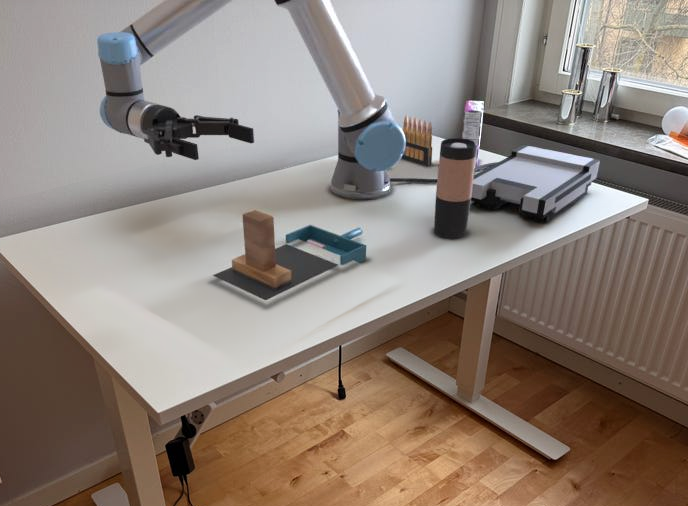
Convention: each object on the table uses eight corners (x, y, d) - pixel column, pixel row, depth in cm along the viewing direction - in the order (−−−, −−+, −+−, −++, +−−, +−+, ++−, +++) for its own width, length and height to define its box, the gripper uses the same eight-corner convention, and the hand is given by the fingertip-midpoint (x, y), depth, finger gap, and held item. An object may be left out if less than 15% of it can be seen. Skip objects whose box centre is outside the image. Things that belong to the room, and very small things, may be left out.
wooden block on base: (249, 263, 140) (245, 204, 134) (291, 282, 134) (289, 220, 127) (232, 271, 138) (227, 210, 131) (274, 290, 131) (271, 227, 124)
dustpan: (342, 271, 141) (342, 256, 139) (286, 249, 150) (285, 234, 148) (389, 248, 151) (390, 233, 149) (334, 228, 159) (334, 214, 158)
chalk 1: (305, 241, 150) (306, 246, 151) (321, 247, 147) (322, 253, 148) (310, 238, 150) (311, 243, 151) (325, 244, 148) (326, 249, 149)
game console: (459, 209, 169) (463, 176, 165) (518, 175, 191) (523, 144, 186) (540, 230, 159) (546, 195, 154) (593, 191, 180) (600, 160, 175)
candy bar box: (460, 159, 202) (466, 99, 193) (477, 160, 201) (484, 100, 192) (458, 171, 193) (464, 110, 184) (476, 172, 192) (483, 111, 183)
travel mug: (425, 232, 157) (433, 143, 146) (445, 223, 162) (454, 135, 151) (454, 242, 153) (463, 150, 142) (473, 232, 158) (484, 142, 147)
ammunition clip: (399, 157, 203) (401, 115, 196) (403, 156, 204) (405, 114, 197) (427, 166, 196) (430, 122, 190) (431, 165, 197) (435, 121, 191)
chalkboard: (286, 250, 149) (286, 243, 149) (338, 271, 141) (338, 264, 140) (213, 282, 137) (212, 275, 136) (265, 307, 129) (265, 300, 128)
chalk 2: (314, 253, 144) (314, 260, 145) (330, 260, 141) (330, 266, 142) (318, 252, 145) (318, 258, 146) (335, 258, 142) (335, 264, 143)
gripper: (206, 129, 152) (274, 148, 140) (106, 156, 137) (173, 180, 125) (202, 93, 148) (272, 110, 136) (98, 116, 133) (167, 138, 121)
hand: (225, 143), depth 131 cm, fingers open, 13 cm apart
